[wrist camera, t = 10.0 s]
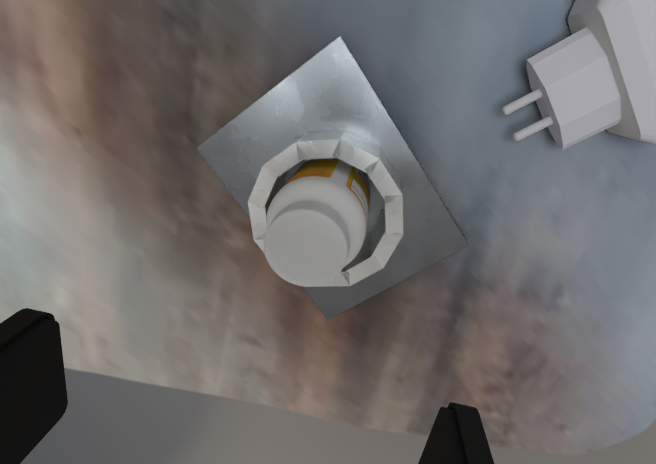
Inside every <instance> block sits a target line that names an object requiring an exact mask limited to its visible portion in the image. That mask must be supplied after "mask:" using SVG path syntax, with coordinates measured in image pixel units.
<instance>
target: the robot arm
mask: <svg viewBox="0 0 656 464" xmlns="http://www.w3.org/2000/svg"><path fill="white" fill-rule="evenodd" d="M67 403H68V400H67V391H66V382H65V374H64V364H63V355H62V346H61V336H60V327H59V323H58V322H57V321H55V319H54V316H53V315H52V314H50V313H46V312H42V311H37V310H33V309H28V308H26V309H22V310H20V311H18V312H17V313H15V314H14V315H12V316H11V317H9V318H8V319H6V320H5V321H3V322H2V323H0V464H20V463H21V462H22V461H23V459H24V458H25V457H26V456H27V455H28V454H29V453H30V452H31V451H32V450H33V449H34V447H35V446H36V445H37V444H38V443H39V442H40V441H41V440H42V438H43V437H44V436H45V435H46V434H47V433H48V432H49V431H50V430H51V428H52V427H53V426H54V425H55V424H56V423H57V422H58V421H59V420H60V418H61V417H62V416H63V414H64V413H65V410H66V408H67ZM418 464H494V462H493V458H492V455H491V452H490V448H489V445H488V442H487V438H486V435H485V432H484V428H483V425H482V422H481V418H480V415H479V412H478V410H477V409H476V408H475V407H470V406H466V405H461V404H457V403H450V404H449V405H448V407H447V408H445V407H441V408H440V410H439V412H438V415H437V417H436V420H435V422H434V425H433V427H432V430H431V433H430V435H429V438H428V440H427V443H426V446H425V448H424V451H423V453H422V456H421V458H420V461H419V463H418Z"/></svg>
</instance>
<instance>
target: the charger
mask: <svg viewBox="0 0 656 464" xmlns="http://www.w3.org/2000/svg"><path fill="white" fill-rule="evenodd" d="M568 24H569V28H570V31H571V34H572V35H571V36H569V37H567V38H565V39H564V40H562V41H560V42H558V43H556V44H554V45H553V46H551V47H549V48H547V49H545V50H543V51H542V52H540V53H538V54H536V55H534V56H533V57H531V58H529V59H527V65H526V68H527V73H528V77H529V82H530V87H531V90H532V92H531V93H529V94H527V95H525V96H523V97H521V98H519V99H517V100H516V101H514V102H512V103H510V104H508V105H506V106H504V107H503V109H502V111H503V113H504V114H505V115H508V114H510V113H512V112H514V111H516V110H518V109H520V108H522V107H524V106H526V105H527V104H529V103H531V102H533V101H535V100H536V103H537V105H538V108H539V110H540V113H541V115H542V118H543V119H542V120H540V121H538V122H536V123H534V124H532V125H530V126H528V127H526V128H524V129H522V130H520V131H518V132H516V133H514V135H513V137H514V139H515V140H516V141H519V140H521V139H523V138H525V137H527V136H529V135H532V134H534V133H536V132H538V131H540V130H542V129H544V128H546V127H547V128H548V129H549V131H550V133H551V135H552V136H553V138H554V140H555V142H556V143H557V144H558V146H559V147H560V148H561V149H562V150H563V149H566V148H568V147H570V146H572V145H574V144H576V143H578V142H580V141H582V140H585V139H587V138H589V137H591V136H593V135H595V134H597V133H599V132H601V131H603V130H607V131H608V132H610V133H613V134H617V135H620V136H623V137H627V138H630V139H634V140H638V141H642V142H646V143H650V144H654V145H656V0H575V2H574V4H573V7H572V9H571V11H570V14H569V16H568Z"/></svg>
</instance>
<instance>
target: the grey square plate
mask: <svg viewBox="0 0 656 464" xmlns="http://www.w3.org/2000/svg"><path fill="white" fill-rule="evenodd" d="M196 149H197V150H198V152H199V153H200V154H201V155H202V157H203V158H204V159H205V161H206V162H207V163H208V165H209V166H210V167H211V169H212V170H213V171H214V172H215V174H216V175H217V176H218V178H219V179H220V180H221V182H222V183H223V184H224V185H225V187H226V188H227V189H228V191H229V192H230V193H231V195H232V196H233V197H234V199H235V200H236V201H237V202H238V204H239V205H240V206H241V208H242V209H243V210H244V212H245V213H246V214H247V215H248V217H249V218H250V220H251V226H252V232H253V238H254V241H255V242H256V243H257V245H258V246H259V247H260V249H261V250H262V251H263V253H264V254H265V252H264V237H265V233H266V216H267V212H268V208H269V206H270V204H271V202H272V200H273V198H274V197H275V195H276V194H277V193H278V192H279V190H280V189H281V188H282V187H283V186H284V185H285V184H286V183H287V182H288V180H289V179H290V178H291V177H292V176H293V175H294V174H295V173H296V172H297V170H298V169H299V168H300V167H301V166H302V165H303V164H304V163H306V162H307V161H309V160H310V159H325V158H338V159H340V160H342V161H344V162H346V163H348V164H350V165H352V166H354V167H356V168H358V169H360V170H362V171H363V172H364V174H365V176H366V177H367V180H368V183H369V187H370V205H369V212H368V219H367V227H366V234H365V238H364V242H363V245H362V247H361V249H360V251H359V253H358V254H357V256H356V257H355V258H354V259H353V260H352V261H351V262H350V263H349V264H348V265H346V266H345V267H343V269H342V271H341V272H340V273H339V274H338V275H337V276H336V277H335V278H334V279H333V280H331V281H330V282H328V283H326V284H323V285H320V286H315V287H304V286H302V287H303V289H304V290H305V291H306V292H307V294H308V295H309V296H310V298H311V299H312V300H313V302H314V303H315V304H316V306H317V307H318V308H319V309H320V311H321V312H322V313H323V315H324V316H325V317H326V319H327V320H329V319H331V318H332V317H334V316H336V315H338V314H340V313H342V312H344V311H346V310H348V309H350V308H351V307H353V306H355V305H357V304H359V303H361V302H363V301H365V300H367V299H369V298H370V297H372V296H374V295H376V294H378V293H380V292H382V291H384V290H386V289H388V288H389V287H391V286H393V285H395V284H397V283H399V282H401V281H403V280H405V279H406V278H408V277H410V276H412V275H414V274H416V273H418V272H420V271H422V270H424V269H425V268H427V267H429V266H431V265H433V264H435V263H437V262H439V261H441V260H443V259H444V258H446V257H448V256H450V255H452V254H454V253H456V252H458V251H460V250H462V249H463V248H465V247H467V246H469V244H468V243H467V241H466V239H465V237H464V236H463V234H462V233H461V231H460V229H459V228H458V226H457V224H456V223H455V221H454V220H453V218H452V216H451V215H450V213H449V211H448V210H447V208H446V207H445V205H444V203H443V202H442V200H441V198H440V197H439V195H438V194H437V192H436V190H435V189H434V187H433V185H432V184H431V182H430V181H429V179H428V177H427V176H426V174H425V172H424V171H423V169H422V168H421V166H420V164H419V163H418V161H417V159H416V158H415V156H414V155H413V153H412V151H411V150H410V148H409V147H408V145H407V143H406V142H405V140H404V138H403V137H402V135H401V134H400V132H399V130H398V129H397V127H396V125H395V124H394V122H393V121H392V119H391V117H390V116H389V114H388V112H387V111H386V109H385V108H384V106H383V104H382V103H381V101H380V99H379V98H378V96H377V95H376V93H375V91H374V90H373V88H372V86H371V85H370V83H369V82H368V80H367V78H366V77H365V75H364V73H363V72H362V70H361V69H360V67H359V65H358V64H357V62H356V60H355V59H354V57H353V56H352V54H351V52H350V51H349V49H348V47H347V46H346V44H345V43H344V41H343V39H342V38H341V37H340V36H339V37H338V38H337V39H336V40H334V41H333V42H332V43H330V44H329V45H328V46H327V47H325V48H324V49H323V50H321V51H320V52H319V53H318V54H316V55H315V56H314V57H312V58H311V59H310V60H309V61H307V62H306V63H305V64H303V65H302V66H301V67H300V68H298V69H297V70H296V71H294V72H293V73H292V74H291V75H289V76H288V77H287V78H285V79H284V80H283V81H282V82H280V83H279V84H278V85H276V86H275V87H274V88H273V89H271V90H270V91H269V92H267V93H266V94H265V95H264V96H262V97H261V98H260V99H258V100H257V101H256V102H255V103H253V104H252V105H251V106H249V107H248V108H247V109H246V110H244V111H243V112H242V113H240V114H239V115H238V116H237V117H235V118H234V119H233V120H231V121H230V122H229V123H228V124H226V125H225V126H224V127H222V128H221V129H220V130H219V131H217V132H216V133H215V134H213V135H212V136H211V137H210V138H208V139H207V140H206V141H204V142H203V143H202V144H201V145H199V146H198V147H197V148H196Z"/></svg>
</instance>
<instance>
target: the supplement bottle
mask: <svg viewBox="0 0 656 464" xmlns="http://www.w3.org/2000/svg"><path fill="white" fill-rule="evenodd" d="M369 205H370V187H369V183H368V180H367V177H366V176H365V174H364V172H363V171H362V170H360V169H358V168H356V167H354V166H352V165H350V164H348V163H346V162H344V161H342V160H340V159H338V158H325V159H310V160H309V161H307V162H306V163H304V164H303V165H302V166H301V167H300V168H299V169H298V170H297V172H296V173H295V174H294V175H293V176H292V177H291V178H290V179H289V180H288V182H287V183H286V184H285V185H284V186H283V187H282V188H281V189H280V190H279V192H278V193H277V194H276V195H275V197H274V198H273V200H272V202H271V204H270V206H269V208H268V212H267V216H266V233H265V237H264V252H265V256H266V259H267V261H268V263H269V265H270V266H271V268H272V269H273V271H274V272H275V273H276V274H277V275H279V276H280V277H281V278H282V279H284V280H286V281H287V282H289V283H292V284H294V285H298V286H304V287H315V286H320V285H323V284H326V283H328V282H330V281H331V280H333V279H334V278H335V277H336V276H337V275H338V274H339V273H340V272H341V271H342V269H343V267H345V266H346V265H348V264H349V263H350V262H351V261H352V260H353V259H354V258H355V257H356V256H357V254H358V253H359V251H360V249H361V247H362V245H363V242H364V238H365V234H366V227H367V219H368V212H369Z"/></svg>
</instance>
